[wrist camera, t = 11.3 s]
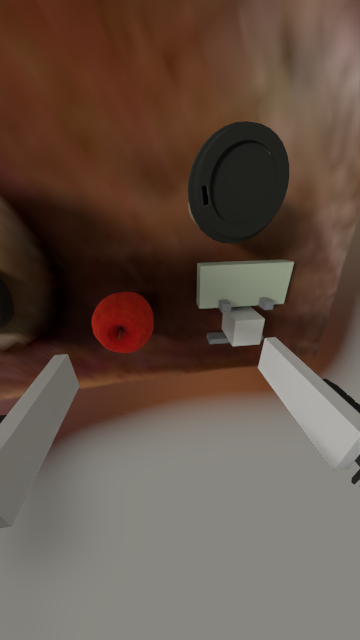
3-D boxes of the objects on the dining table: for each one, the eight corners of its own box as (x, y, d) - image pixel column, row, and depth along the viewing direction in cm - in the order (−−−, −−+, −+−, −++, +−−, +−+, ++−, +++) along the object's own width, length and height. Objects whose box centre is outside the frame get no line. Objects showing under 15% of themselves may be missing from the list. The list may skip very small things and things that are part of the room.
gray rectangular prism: (223, 306, 38) (235, 321, 32) (248, 304, 39) (265, 319, 32) (221, 328, 41) (232, 346, 34) (244, 327, 41) (259, 344, 35)
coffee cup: (237, 232, 32) (292, 232, 18) (183, 244, 32) (199, 254, 19) (233, 162, 27) (302, 96, 14) (171, 177, 28) (180, 125, 14)
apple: (98, 315, 37) (71, 351, 26) (116, 272, 33) (94, 293, 22) (142, 334, 39) (135, 374, 29) (164, 297, 36) (164, 326, 25)
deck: (195, 338, 41) (200, 353, 36) (197, 262, 34) (203, 268, 29) (266, 333, 42) (280, 346, 37) (283, 259, 35) (303, 264, 30)
